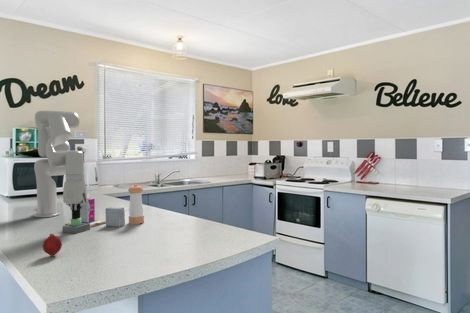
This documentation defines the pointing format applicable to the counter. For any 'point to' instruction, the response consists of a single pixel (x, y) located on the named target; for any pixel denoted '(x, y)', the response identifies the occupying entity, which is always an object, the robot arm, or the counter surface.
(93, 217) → the supplement box
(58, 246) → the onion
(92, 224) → the wooden picture frame
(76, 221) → the button
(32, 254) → the counter surface
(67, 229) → the button box
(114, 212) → the medicine box
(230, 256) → the counter surface
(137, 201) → the pepper shaker
